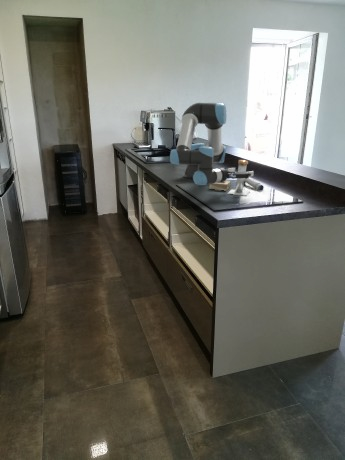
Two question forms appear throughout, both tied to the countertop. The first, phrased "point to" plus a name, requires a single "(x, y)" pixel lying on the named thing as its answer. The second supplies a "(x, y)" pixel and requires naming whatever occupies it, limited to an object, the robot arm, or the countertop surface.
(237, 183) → the steel plug
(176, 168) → the countertop surface
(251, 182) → the toothbrush head
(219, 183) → the bore block
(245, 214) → the countertop surface
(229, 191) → the rubber mat
